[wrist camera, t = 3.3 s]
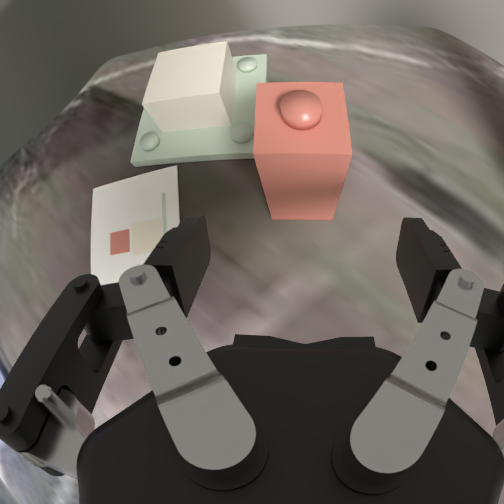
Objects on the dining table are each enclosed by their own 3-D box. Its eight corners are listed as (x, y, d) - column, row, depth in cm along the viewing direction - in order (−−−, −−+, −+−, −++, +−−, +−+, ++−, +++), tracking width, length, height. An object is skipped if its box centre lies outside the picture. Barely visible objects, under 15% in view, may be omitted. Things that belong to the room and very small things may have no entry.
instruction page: (177, 165, 26) (176, 164, 26) (186, 305, 23) (185, 305, 23) (94, 189, 27) (92, 188, 27) (94, 315, 24) (92, 314, 24)
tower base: (267, 60, 27) (260, 21, 22) (264, 158, 25) (255, 119, 19) (159, 74, 29) (139, 41, 24) (135, 167, 27) (104, 138, 21)
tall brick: (329, 166, 24) (343, 73, 13) (332, 220, 23) (354, 145, 12) (273, 165, 25) (254, 73, 14) (272, 219, 24) (250, 145, 13)
